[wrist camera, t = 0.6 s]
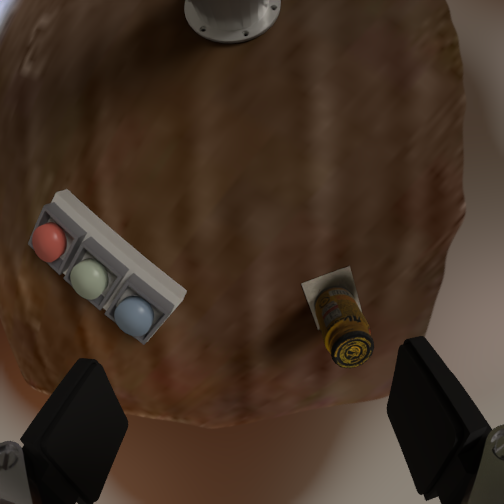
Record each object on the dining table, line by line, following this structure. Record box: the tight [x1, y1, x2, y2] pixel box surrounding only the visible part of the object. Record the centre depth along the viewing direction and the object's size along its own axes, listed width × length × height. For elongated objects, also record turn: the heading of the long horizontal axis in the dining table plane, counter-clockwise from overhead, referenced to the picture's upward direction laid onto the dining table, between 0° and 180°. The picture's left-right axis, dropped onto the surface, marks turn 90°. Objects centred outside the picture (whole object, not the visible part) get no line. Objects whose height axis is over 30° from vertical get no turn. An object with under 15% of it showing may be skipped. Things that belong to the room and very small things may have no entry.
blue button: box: [114, 296, 154, 336], centre depth 39 cm, size 5×5×2 cm
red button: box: [32, 222, 67, 262], centre depth 36 cm, size 5×5×2 cm
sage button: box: [70, 258, 109, 300], centre depth 37 cm, size 5×5×2 cm
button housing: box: [28, 189, 187, 344], centre depth 40 cm, size 24×10×6 cm, turn 49°
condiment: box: [302, 266, 374, 368], centre depth 38 cm, size 7×8×12 cm
